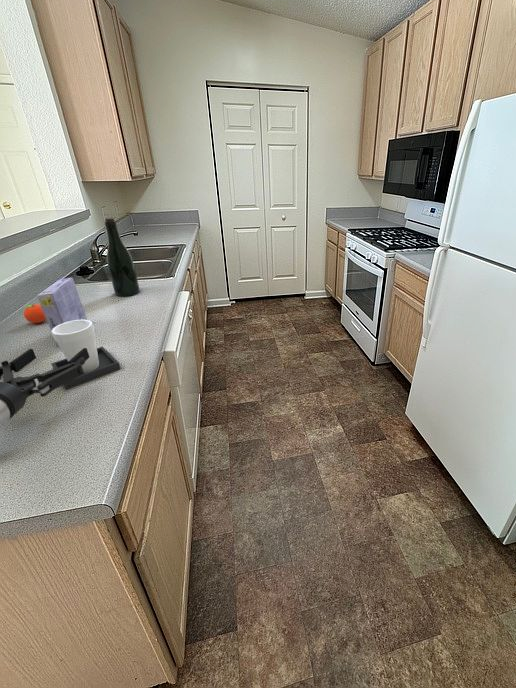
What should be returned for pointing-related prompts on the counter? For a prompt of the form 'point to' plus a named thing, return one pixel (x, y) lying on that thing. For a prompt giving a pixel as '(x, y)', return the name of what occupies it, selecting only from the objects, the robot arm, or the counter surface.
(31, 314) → the red tomato
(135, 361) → the counter surface
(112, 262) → the beer bottle
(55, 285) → the cake pan box
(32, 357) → the robot arm
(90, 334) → the foam cup
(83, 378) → the shallow black tray
